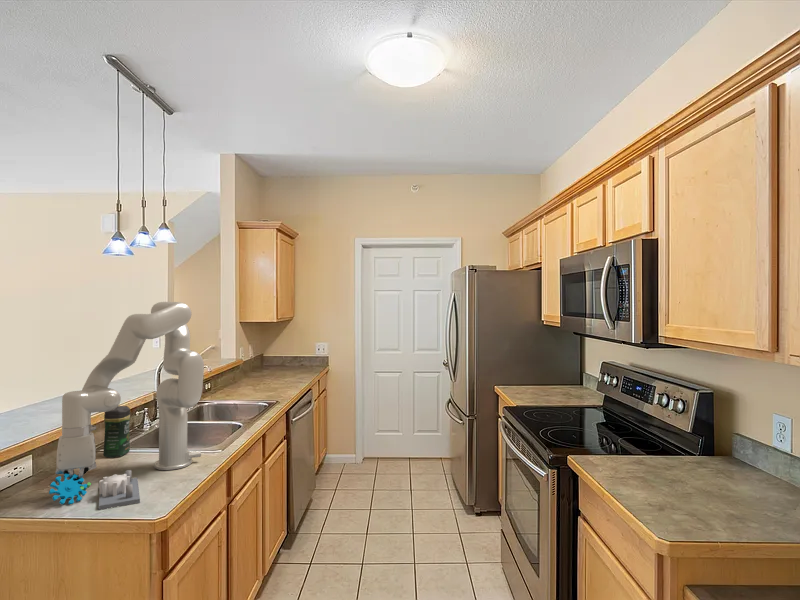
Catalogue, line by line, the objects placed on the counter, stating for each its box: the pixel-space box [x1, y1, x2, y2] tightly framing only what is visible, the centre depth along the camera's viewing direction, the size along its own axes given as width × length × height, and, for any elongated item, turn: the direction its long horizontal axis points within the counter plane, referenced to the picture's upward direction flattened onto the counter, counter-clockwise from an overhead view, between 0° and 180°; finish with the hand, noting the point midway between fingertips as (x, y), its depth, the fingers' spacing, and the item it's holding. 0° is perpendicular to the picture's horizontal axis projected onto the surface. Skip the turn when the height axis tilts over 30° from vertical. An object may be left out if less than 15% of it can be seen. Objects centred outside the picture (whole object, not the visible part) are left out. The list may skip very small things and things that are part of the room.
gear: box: [48, 473, 92, 506], centre depth 150 cm, size 11×6×10 cm
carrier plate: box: [98, 469, 141, 511], centre depth 154 cm, size 11×20×5 cm, turn 30°
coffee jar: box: [103, 405, 131, 459], centre depth 193 cm, size 10×8×19 cm
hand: (76, 489), depth 154 cm, fingers closed
